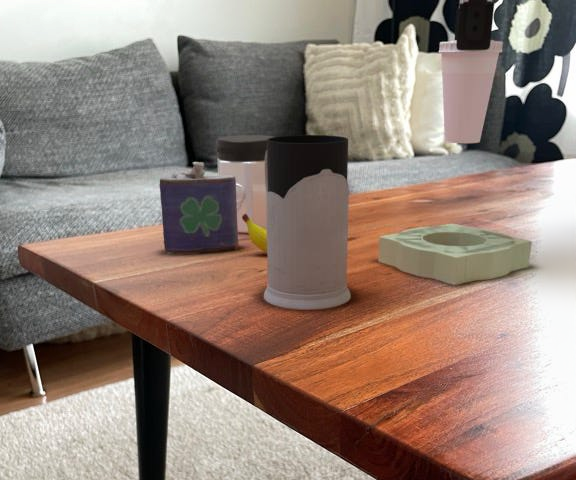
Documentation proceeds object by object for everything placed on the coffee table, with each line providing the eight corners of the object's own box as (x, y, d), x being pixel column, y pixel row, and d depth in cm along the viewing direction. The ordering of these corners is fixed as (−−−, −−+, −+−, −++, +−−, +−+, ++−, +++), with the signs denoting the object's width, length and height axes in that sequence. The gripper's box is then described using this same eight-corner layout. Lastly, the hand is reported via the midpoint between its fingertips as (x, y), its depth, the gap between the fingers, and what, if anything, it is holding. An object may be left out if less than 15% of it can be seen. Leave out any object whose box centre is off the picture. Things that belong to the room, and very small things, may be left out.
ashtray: (449, 245, 91) (451, 221, 90) (537, 267, 81) (540, 241, 80) (370, 261, 84) (371, 236, 83) (455, 288, 74) (457, 259, 73)
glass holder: (285, 314, 67) (283, 146, 61) (232, 276, 79) (226, 132, 73) (366, 302, 70) (373, 140, 64) (304, 267, 82) (304, 128, 76)
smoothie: (501, 144, 75) (518, -9, 69) (440, 145, 74) (452, -9, 68) (481, 137, 80) (495, -4, 75) (425, 138, 80) (435, -4, 74)
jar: (207, 231, 100) (202, 140, 95) (232, 219, 107) (229, 134, 102) (267, 235, 97) (265, 142, 92) (289, 223, 104) (288, 135, 99)
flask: (236, 245, 92) (233, 158, 87) (240, 251, 89) (237, 161, 85) (163, 250, 90) (156, 161, 85) (165, 256, 87) (158, 164, 83)
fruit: (242, 257, 86) (240, 215, 84) (243, 252, 88) (242, 211, 86) (327, 257, 86) (327, 215, 84) (326, 253, 88) (327, 211, 86)
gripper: (546, -197, 58) (518, 49, 65) (521, -144, 73) (500, 50, 81) (451, -191, 59) (434, 50, 66) (446, -140, 75) (432, 51, 82)
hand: (470, 48), depth 74 cm, fingers closed on smoothie, 6 cm apart
